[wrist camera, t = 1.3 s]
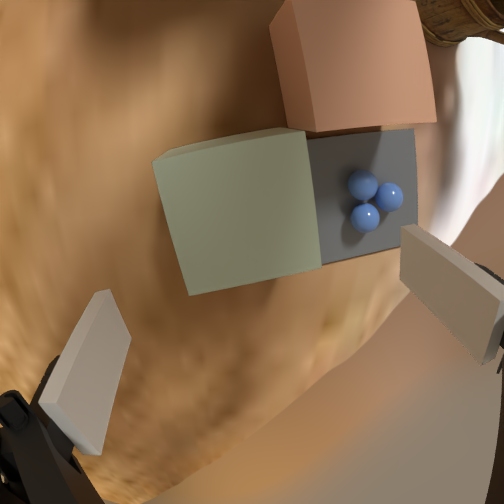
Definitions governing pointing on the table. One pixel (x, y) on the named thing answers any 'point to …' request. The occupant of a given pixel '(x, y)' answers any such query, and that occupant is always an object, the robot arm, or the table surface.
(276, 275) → the sage cover
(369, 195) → the marble
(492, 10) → the wooden mug
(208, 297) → the table surface
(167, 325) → the table surface
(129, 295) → the table surface
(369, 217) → the marble
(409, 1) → the terracotta cover
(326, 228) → the slate tile
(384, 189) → the marble
